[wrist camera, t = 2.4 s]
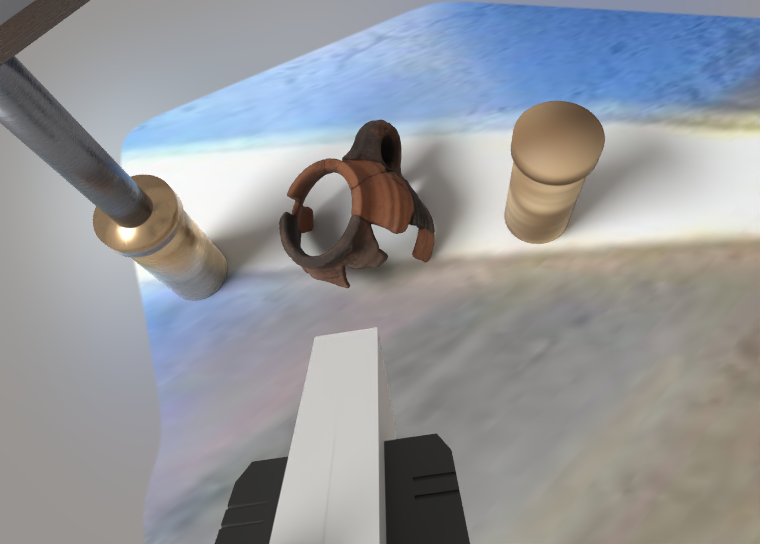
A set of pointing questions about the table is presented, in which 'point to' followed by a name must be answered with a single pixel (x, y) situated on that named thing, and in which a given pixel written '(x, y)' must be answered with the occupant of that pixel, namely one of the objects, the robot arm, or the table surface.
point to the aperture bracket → (101, 166)
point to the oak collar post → (550, 168)
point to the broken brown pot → (360, 206)
